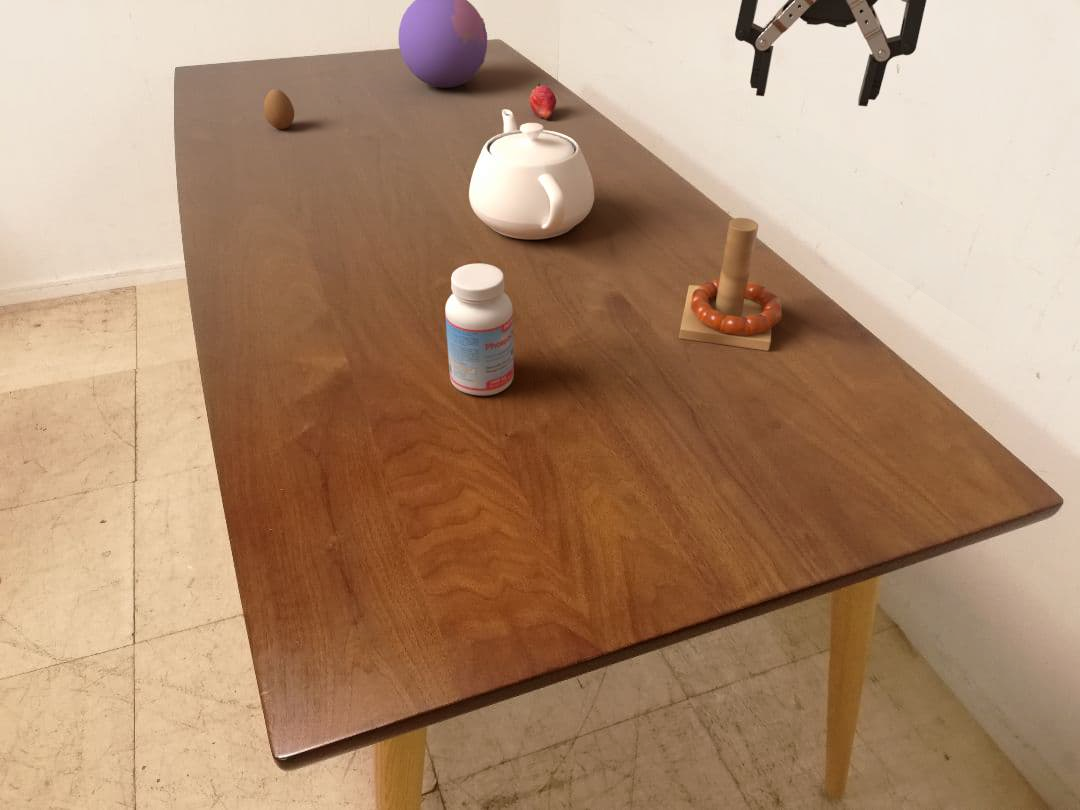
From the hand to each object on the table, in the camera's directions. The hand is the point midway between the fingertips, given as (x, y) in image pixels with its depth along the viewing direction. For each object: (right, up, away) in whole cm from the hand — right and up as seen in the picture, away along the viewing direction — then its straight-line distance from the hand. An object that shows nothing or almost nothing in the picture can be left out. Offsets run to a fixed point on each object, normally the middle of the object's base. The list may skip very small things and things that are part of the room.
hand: (810, 98), depth 71 cm
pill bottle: (-29, -24, +8) cm, 38 cm away
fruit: (-23, +20, +62) cm, 70 cm away
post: (-4, -18, +16) cm, 24 cm away
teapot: (-25, -3, +34) cm, 42 cm away
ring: (-3, -16, +14) cm, 22 cm away
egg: (-64, +17, +57) cm, 87 cm away
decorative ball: (-40, +30, +74) cm, 89 cm away
